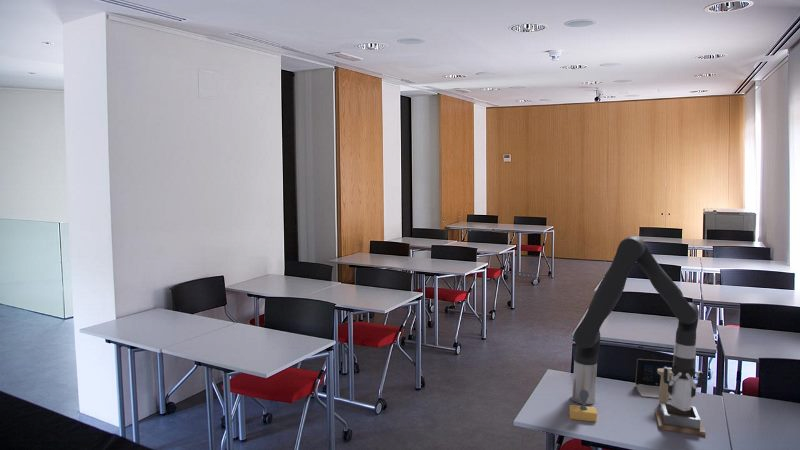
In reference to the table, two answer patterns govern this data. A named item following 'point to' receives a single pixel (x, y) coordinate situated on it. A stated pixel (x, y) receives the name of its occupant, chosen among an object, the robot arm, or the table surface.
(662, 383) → the handle
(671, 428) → the socket board
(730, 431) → the table surface
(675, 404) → the skincare box
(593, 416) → the rubber stamp
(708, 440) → the table surface
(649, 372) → the laptop
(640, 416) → the table surface
